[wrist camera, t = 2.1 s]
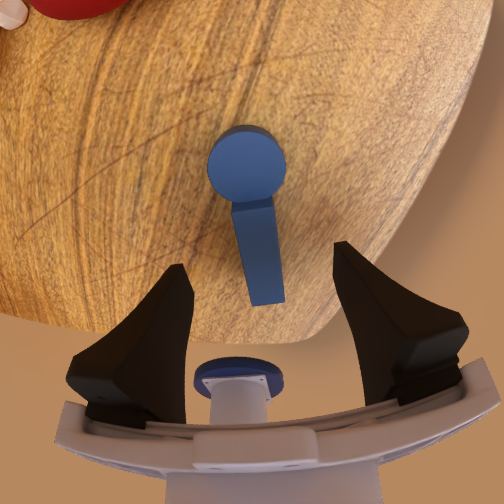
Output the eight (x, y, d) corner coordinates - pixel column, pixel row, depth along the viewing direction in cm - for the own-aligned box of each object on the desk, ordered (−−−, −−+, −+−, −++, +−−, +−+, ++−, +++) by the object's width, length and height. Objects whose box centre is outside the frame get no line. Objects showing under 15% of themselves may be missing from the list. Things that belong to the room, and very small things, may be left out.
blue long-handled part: (292, 271, 20) (298, 300, 17) (239, 278, 20) (238, 308, 18) (276, 120, 14) (284, 129, 11) (205, 131, 14) (195, 144, 11)
